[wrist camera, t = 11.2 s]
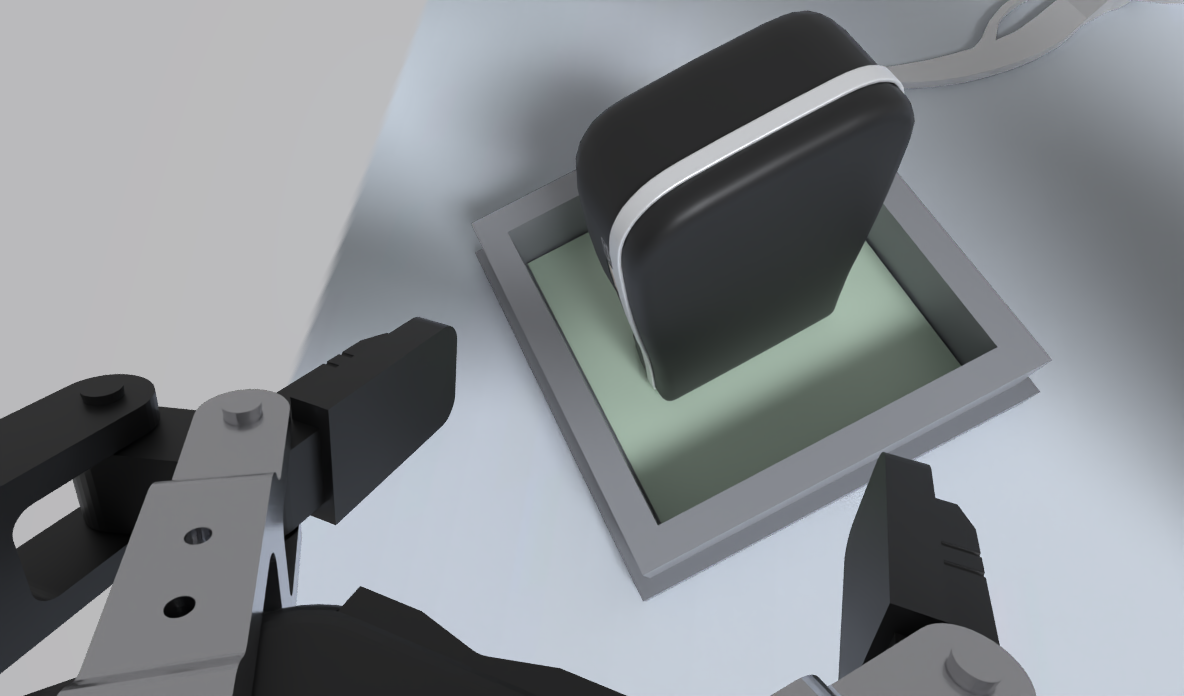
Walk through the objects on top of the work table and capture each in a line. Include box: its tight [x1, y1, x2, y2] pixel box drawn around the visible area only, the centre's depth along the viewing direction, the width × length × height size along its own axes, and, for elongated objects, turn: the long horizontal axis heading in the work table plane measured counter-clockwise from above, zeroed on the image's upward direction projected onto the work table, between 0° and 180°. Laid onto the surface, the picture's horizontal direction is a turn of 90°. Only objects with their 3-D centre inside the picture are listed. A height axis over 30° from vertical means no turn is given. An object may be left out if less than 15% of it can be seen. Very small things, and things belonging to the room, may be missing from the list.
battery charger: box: [576, 11, 915, 401], centre depth 19 cm, size 7×4×11 cm, turn 117°
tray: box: [471, 170, 1052, 601], centre depth 23 cm, size 14×14×4 cm
